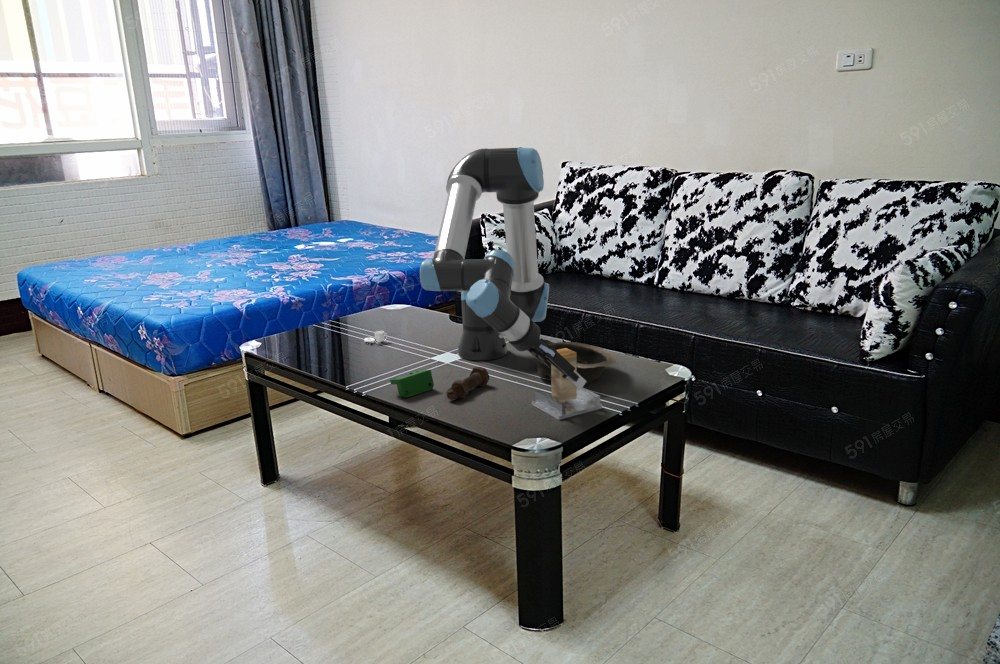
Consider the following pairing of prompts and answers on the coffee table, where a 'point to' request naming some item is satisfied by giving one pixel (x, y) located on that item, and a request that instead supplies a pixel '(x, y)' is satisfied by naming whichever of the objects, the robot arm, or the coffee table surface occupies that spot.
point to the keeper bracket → (567, 404)
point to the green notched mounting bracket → (414, 383)
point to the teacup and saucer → (377, 337)
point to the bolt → (468, 383)
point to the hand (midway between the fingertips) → (576, 382)
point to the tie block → (559, 385)
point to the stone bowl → (582, 360)
